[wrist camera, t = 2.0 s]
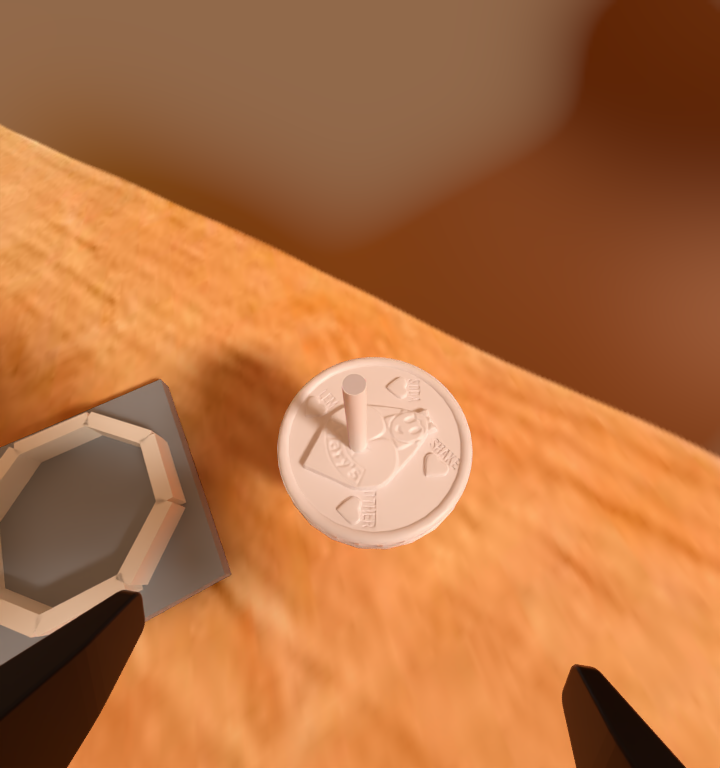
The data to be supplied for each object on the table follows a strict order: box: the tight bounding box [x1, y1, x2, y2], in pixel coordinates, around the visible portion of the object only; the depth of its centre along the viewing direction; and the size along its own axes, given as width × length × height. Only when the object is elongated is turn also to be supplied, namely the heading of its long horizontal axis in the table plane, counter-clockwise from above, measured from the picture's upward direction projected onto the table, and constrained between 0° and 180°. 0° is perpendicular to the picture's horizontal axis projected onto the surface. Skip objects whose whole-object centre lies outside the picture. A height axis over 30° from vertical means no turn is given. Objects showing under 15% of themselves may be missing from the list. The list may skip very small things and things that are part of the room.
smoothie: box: [277, 357, 472, 549], centre depth 15 cm, size 6×6×14 cm
